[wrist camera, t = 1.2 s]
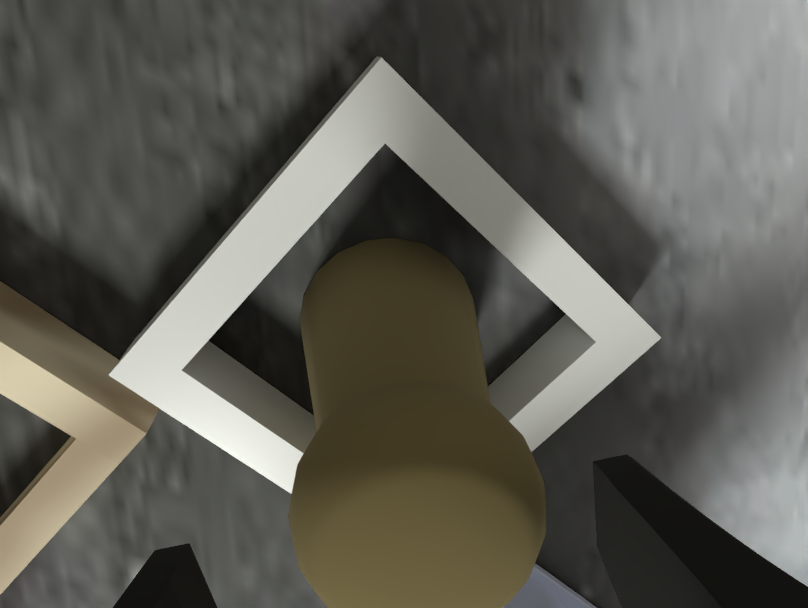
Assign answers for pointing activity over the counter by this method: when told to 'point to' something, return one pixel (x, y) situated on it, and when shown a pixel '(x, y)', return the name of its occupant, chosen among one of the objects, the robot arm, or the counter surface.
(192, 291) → the white picture frame
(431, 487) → the cork
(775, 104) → the counter surface
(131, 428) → the wooden square frame
